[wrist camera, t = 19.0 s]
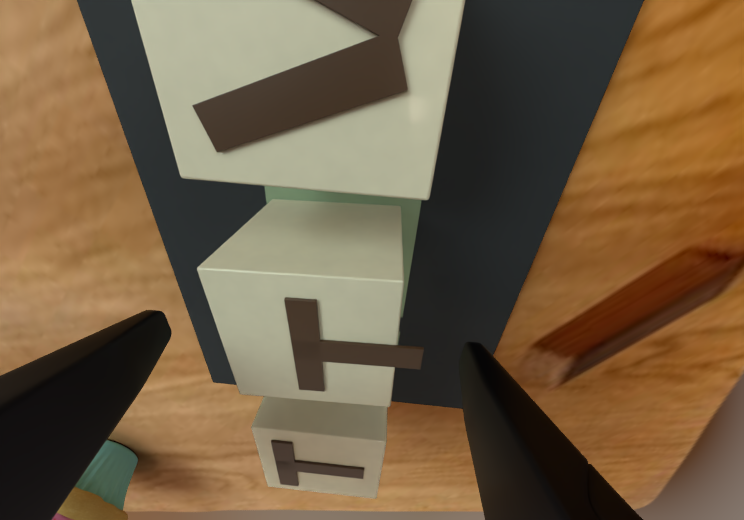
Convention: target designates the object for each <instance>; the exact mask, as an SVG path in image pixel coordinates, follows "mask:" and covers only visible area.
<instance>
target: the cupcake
mask: <svg viewBox="0 0 744 520" xmlns="http://www.w3.org/2000/svg"><path fill="white" fill-rule="evenodd" d="M137 463H138V458H137V456H136V455H135V454H134V453H133V452H132V451H131V450H130V449H128V448H126V447H125V446H123V445H121V444H118V443H116V442H113V441H109V440H106V442H105V443H104V444H103V446H102V447H101V449H100V450H99V452H98V453H97V455H96V456H95V458H94V459H93V460H92V462H91V463H90V465H89V466H88V468H87V469H86V471H85V472H84V474H83V475H82V476H81V478H80V479H79V481H78V482H77V484H76V485H75V487H74V488H73V490H72V491H71V492H70V494H69V495H68V497H67V498H66V500H65V501H64V503H63V504H62V506H61V507H60V508H59V510H58V511H57V513H56V514H55V516H54V517H53V519H52V520H127V519H128V515H127V514H126V513H125V512H124V511H123V506H124V500H125V496H126V492H127V489H128V486H129V483H130V480H131V478H132V475H133V472H134V470H135V468H136V465H137Z"/></svg>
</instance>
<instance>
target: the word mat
mask: <svg viewBox="0 0 744 520" xmlns="http://www.w3.org/2000/svg"><path fill="white" fill-rule="evenodd" d="M643 1H644V0H465V5H464V10H463V16H462V21H461V27H460V32H459V38H458V43H457V49H456V54H455V60H454V66H453V71H452V77H451V82H450V88H449V93H448V99H447V104H446V110H445V115H444V121H443V126H442V132H441V137H440V143H439V148H438V154H437V160H436V165H435V171H434V176H433V182H432V187H431V193H430V197H429V199H428V200H416V199H405V198H394V197H383V196H371V195H360V194H349V193H338V192H327V191H316V190H305V189H294V188H283V187H272V186H261V185H250V184H239V183H228V182H217V181H206V180H194V179H185V178H182V177H181V176H180V173H179V169H178V166H177V162H176V158H175V155H174V151H173V148H172V144H171V141H170V137H169V133H168V130H167V126H166V123H165V119H164V116H163V112H162V108H161V105H160V101H159V98H158V94H157V91H156V87H155V83H154V80H153V76H152V73H151V69H150V66H149V62H148V58H147V55H146V51H145V48H144V44H143V41H142V37H141V33H140V30H139V26H138V23H137V19H136V16H135V12H134V8H133V5H132V1H131V0H77V2H78V4H79V7H80V10H81V13H82V16H83V18H84V21H85V24H86V27H87V30H88V32H89V35H90V38H91V41H92V44H93V47H94V49H95V52H96V55H97V58H98V61H99V63H100V66H101V69H102V72H103V75H104V77H105V80H106V83H107V86H108V89H109V91H110V94H111V97H112V100H113V103H114V105H115V108H116V111H117V114H118V117H119V119H120V122H121V125H122V128H123V131H124V133H125V136H126V139H127V142H128V145H129V147H130V150H131V153H132V156H133V159H134V161H135V164H136V167H137V170H138V173H139V175H140V178H141V181H142V184H143V187H144V189H145V192H146V195H147V198H148V201H149V203H150V206H151V209H152V212H153V215H154V218H155V220H156V223H157V226H158V229H159V232H160V234H161V237H162V240H163V243H164V246H165V248H166V251H167V254H168V257H169V260H170V262H171V265H172V268H173V271H174V274H175V276H176V279H177V282H178V285H179V288H180V290H181V293H182V296H183V299H184V302H185V304H186V307H187V310H188V313H189V316H190V318H191V321H192V324H193V327H194V330H195V332H196V335H197V338H198V341H199V344H200V346H201V349H202V352H203V355H204V358H205V360H206V363H207V366H208V369H209V372H210V375H211V377H212V380H213V382H215V383H225V384H234V385H237V384H236V381H235V378H234V375H233V372H232V369H231V367H230V364H229V361H228V358H227V355H226V352H225V349H224V346H223V343H222V340H221V338H220V335H219V332H218V329H217V326H216V323H215V320H214V317H213V314H212V312H211V309H210V306H209V303H208V300H207V297H206V294H205V291H204V288H203V286H202V283H201V280H200V277H199V274H198V271H197V267H198V266H200V265H201V264H202V263H203V262H204V261H205V260H206V259H207V258H208V257H209V256H211V255H212V254H213V253H214V252H215V251H216V250H217V249H218V248H219V247H220V246H222V245H223V244H224V243H225V242H226V241H227V240H228V239H229V238H230V237H231V236H233V235H234V234H235V233H236V232H237V231H238V230H239V229H240V228H241V227H242V226H244V225H245V224H246V223H247V222H248V221H249V220H250V219H251V218H252V217H253V216H255V215H256V214H257V213H258V212H259V211H260V210H261V209H262V208H263V207H264V206H266V205H267V204H268V203H269V202H270V201H271V200H272V199H280V200H298V201H317V202H336V203H355V204H373V205H392V206H400V207H401V223H402V245H403V267H404V288H403V298H402V307H401V316H400V325H399V334H398V343H397V345H402V346H415V347H424V352H423V357H422V363H421V368H420V369H409V368H397V367H395V371H394V380H393V389H392V398H391V401H395V402H404V403H414V404H423V405H432V406H442V407H451V408H461V409H463V403H462V394H461V384H460V374H459V360H460V357H461V354H462V351H463V348H464V345H465V343H466V342H477V343H481V344H482V345H483V346H484V347H485V348H486V349H487V350H488V351H489V352H490V353H491V355H492V356H493V354H494V352H495V350H496V347H497V345H498V343H499V340H500V338H501V335H502V333H503V331H504V328H505V326H506V324H507V321H508V319H509V317H510V314H511V312H512V310H513V307H514V305H515V303H516V300H517V298H518V295H519V293H520V291H521V288H522V286H523V284H524V281H525V279H526V277H527V274H528V272H529V270H530V267H531V265H532V263H533V260H534V258H535V255H536V253H537V251H538V248H539V246H540V244H541V241H542V239H543V237H544V234H545V232H546V230H547V227H548V225H549V222H550V220H551V218H552V215H553V213H554V211H555V208H556V206H557V204H558V201H559V199H560V197H561V194H562V192H563V190H564V187H565V185H566V182H567V180H568V178H569V175H570V173H571V171H572V168H573V166H574V164H575V161H576V159H577V157H578V154H579V152H580V150H581V147H582V145H583V142H584V140H585V138H586V135H587V133H588V131H589V128H590V126H591V124H592V121H593V119H594V117H595V114H596V112H597V110H598V107H599V105H600V102H601V100H602V98H603V95H604V93H605V91H606V88H607V86H608V84H609V81H610V79H611V77H612V74H613V72H614V70H615V67H616V65H617V62H618V60H619V58H620V55H621V53H622V51H623V48H624V46H625V44H626V41H627V39H628V37H629V34H630V32H631V29H632V27H633V25H634V22H635V20H636V18H637V15H638V13H639V11H640V8H641V6H642V4H643Z"/></svg>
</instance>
